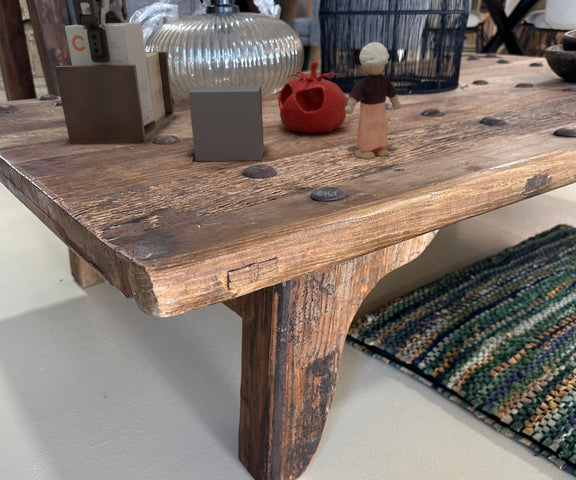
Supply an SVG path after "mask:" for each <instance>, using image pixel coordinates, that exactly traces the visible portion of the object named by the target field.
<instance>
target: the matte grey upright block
mask: <svg viewBox="0 0 576 480" xmlns="http://www.w3.org/2000/svg"><path fill="white" fill-rule="evenodd" d="M262 96H263V93H262V86H261V85H225V86H223V85H222V86H221V85H219V86H194V87H193V88H192V89H191V90H189V91H188V100H189V102H188V103H189V112H190V120H191V122H190V123H191V131H192V141H193V142H192V143H193V151H194V161H195V162H252V161H253V162H256V161H257V162H259V161H260V162H261V161H262V159H263V156H264V153H265V145H264V142H265V141H264V121H263V97H262Z"/></svg>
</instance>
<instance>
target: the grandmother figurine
mask: <svg viewBox="0 0 576 480" xmlns="http://www.w3.org/2000/svg"><path fill="white" fill-rule="evenodd" d="M358 59H359V62H360V65H361V67H362V71H363V72H364V74H366V75H367V76H366V77H365V78H362V79H360V80H358V81H357V82H356V83H355V84H354V86H353V87H352V89H351V91H350V93H349V94H348V99H347V106H346V107H345V112H346V115H352V114H354V111H355V107H356V106H357V105H358V103H359V118H358V123H357V125H358V126H357V133H356V143H355V144H356V145H355V146H356V148H358V149H357V150H356V151H355V153H354V157H356V158H361V159H365V160H371V159H375V158H376V156H378V157H379V156H380V157H383V156H384V157H385V156H389V155H390V151H388V149H387V147H388V145H389V143H388V137H389V135H388V134H389V133H388V131H389V130H388V129H389V127H388V119H387V109H386V100H387V98H388V99H389V102H390V103H391V107H392V109H393V110H395V111H396V110H399V109H400V108H401V105H402V104H401V102H400V100H399V96H398V91H397V89H396V87H395V86H394V84H393V83H392V81H391V80H390V78H389V77H388V75H384V74H382V73H383V72H384V69H385V66H386V65H387V64H388V63H389V59H390V54H389V52H388V49H387V47H385V46H384V44H382V43H381V42H377V41H372V42H369V43H368V44H366V45H365V46H363V47H362V48H361V49H360V51H359V58H358Z"/></svg>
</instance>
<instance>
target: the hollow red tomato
mask: <svg viewBox="0 0 576 480" xmlns="http://www.w3.org/2000/svg"><path fill="white" fill-rule="evenodd" d="M318 66H319V62H318V60H314V61H311V62H310V73H309V75H308V74H306V73H305V72H303V71H297V72H296V73H293V74H291V75H288V76H286V78H290V77H296V78H293V79H290V80H288V81H287V82H286V83H284V85H283V86H282V88H281V90H280V91H279V94H278V96H277V101H278V108H279V117H280V121H281V124H282V126H284V127H285V128H286V129H287V130H289V131H293V132H300V133H303V134H324V133H331V132H332V131H333V130H336V129H338V128H339V127H341V125H342V124H343V123H344V122H345V119H346V116H347V113H346V112H345V107H346V106H347V102H348V99H347V96H346V94H345V93H344V92H343V90H342V88H340V87H339V86H338V84H337V83H335V82H333V81H331V80H328V79H331V78H332V75H334V76H337V75H338V74H339V72H338V73H335V72H328V73H322V74H320V75H317V70H318ZM325 78H328V79H325Z"/></svg>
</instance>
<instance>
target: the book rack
mask: <svg viewBox="0 0 576 480" xmlns="http://www.w3.org/2000/svg"><path fill="white" fill-rule="evenodd" d="M145 53H146V61H147V68H148V75H149V82H150V90H151V97H152V105H153V112H154V120H153V121H152V122H150V123H149V124H147V125H145V126H144V122H143V115H142V108H141V100H140V93H139V86H138V78H137V71H136V65H85V66H72V65H57V66H55V67H54V70H55V75H56V80H57V87H58V92H59V97H60V101H61V106H62V111H63V116H64V122H65V126H66V132H67V136H68V141H69V145H115V144H116V145H122V144H123V145H124V144H133V145H134V144H146V143H147V142H148V141H149V140H150V139H151V138H152V137H153V136H154V135H155V134H157V133H158V132H159V131H160V130H161V129H162V128H163V127H164V126H165V125H166V124H168V123H169V122H170V121H171V120H172V119H173V118H175V113H174V104H173V92H172V86H171V75H170V67H169V66H170V65H169V58H168V52H167V51H145Z"/></svg>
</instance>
